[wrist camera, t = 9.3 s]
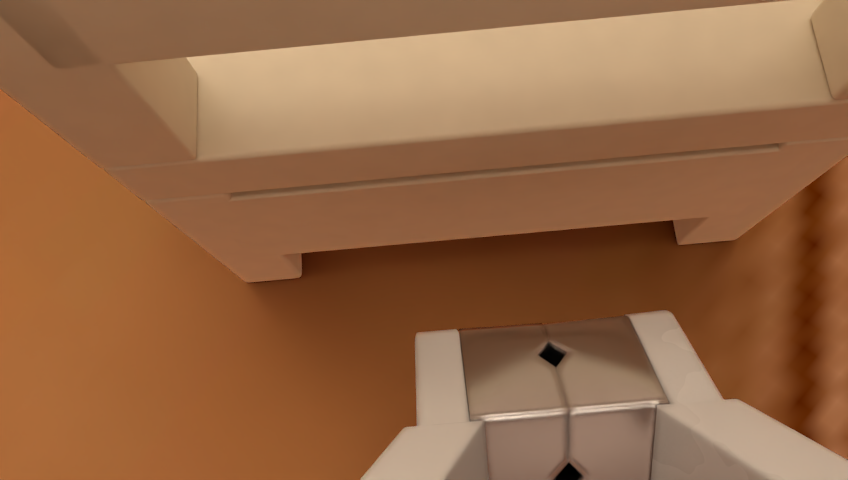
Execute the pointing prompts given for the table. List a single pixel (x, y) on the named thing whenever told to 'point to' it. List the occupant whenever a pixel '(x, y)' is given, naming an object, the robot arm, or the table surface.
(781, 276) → the table surface
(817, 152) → the chair
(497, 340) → the robot arm
